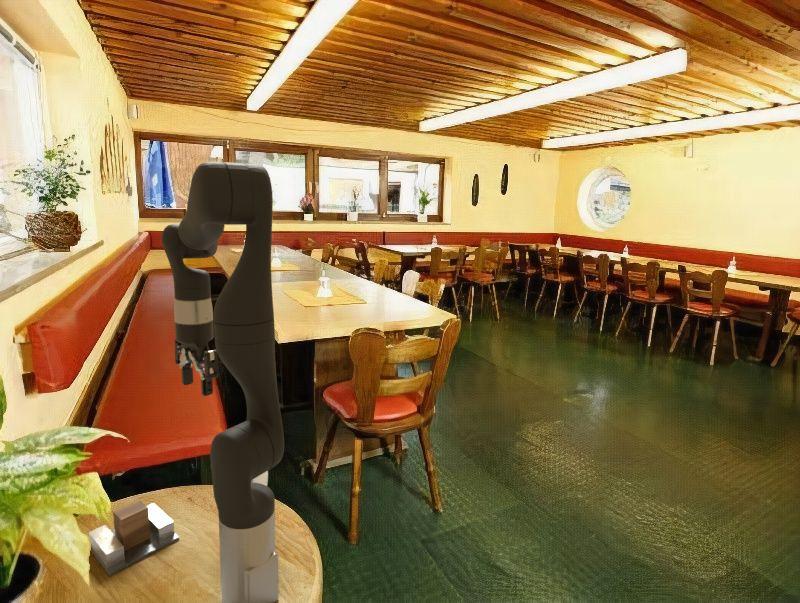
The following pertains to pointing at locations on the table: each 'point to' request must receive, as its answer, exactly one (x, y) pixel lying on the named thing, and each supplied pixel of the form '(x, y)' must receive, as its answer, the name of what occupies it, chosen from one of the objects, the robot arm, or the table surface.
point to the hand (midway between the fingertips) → (197, 389)
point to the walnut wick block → (131, 524)
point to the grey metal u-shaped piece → (115, 556)
